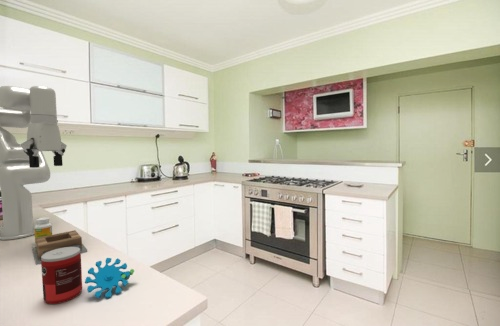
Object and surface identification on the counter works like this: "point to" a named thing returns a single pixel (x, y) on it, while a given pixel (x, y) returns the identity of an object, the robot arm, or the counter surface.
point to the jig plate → (38, 260)
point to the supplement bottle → (42, 228)
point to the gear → (108, 277)
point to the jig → (57, 241)
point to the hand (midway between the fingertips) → (47, 166)
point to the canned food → (61, 274)
